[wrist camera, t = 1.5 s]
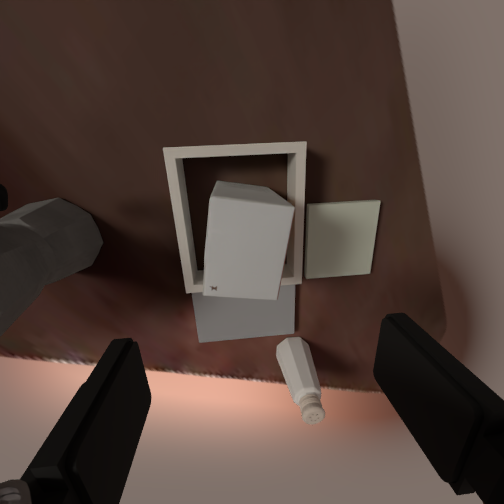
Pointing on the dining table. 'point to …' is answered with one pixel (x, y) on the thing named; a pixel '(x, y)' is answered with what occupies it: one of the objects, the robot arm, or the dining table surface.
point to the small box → (246, 241)
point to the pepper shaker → (301, 378)
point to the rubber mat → (340, 238)
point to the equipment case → (205, 307)
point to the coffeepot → (41, 250)
